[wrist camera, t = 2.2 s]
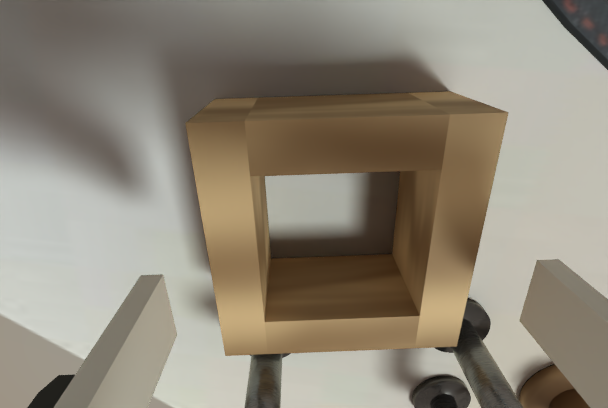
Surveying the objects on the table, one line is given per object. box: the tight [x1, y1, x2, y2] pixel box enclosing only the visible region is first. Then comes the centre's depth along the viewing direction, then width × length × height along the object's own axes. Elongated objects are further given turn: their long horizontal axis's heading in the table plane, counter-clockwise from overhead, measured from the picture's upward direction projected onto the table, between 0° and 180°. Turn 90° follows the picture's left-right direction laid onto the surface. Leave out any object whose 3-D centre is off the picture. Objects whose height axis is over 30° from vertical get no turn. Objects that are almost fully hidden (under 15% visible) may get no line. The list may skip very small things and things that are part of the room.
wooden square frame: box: [185, 91, 508, 356], centre depth 17 cm, size 11×11×5 cm
